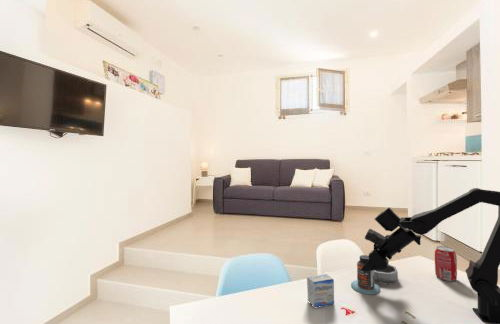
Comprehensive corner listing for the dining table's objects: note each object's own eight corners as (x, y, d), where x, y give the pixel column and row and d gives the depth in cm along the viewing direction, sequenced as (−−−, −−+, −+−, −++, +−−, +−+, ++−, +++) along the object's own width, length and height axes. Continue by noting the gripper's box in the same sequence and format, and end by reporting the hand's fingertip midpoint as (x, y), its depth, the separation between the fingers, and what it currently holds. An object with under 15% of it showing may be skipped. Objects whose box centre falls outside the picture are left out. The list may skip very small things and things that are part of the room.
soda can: (449, 274, 104) (448, 245, 104) (461, 282, 97) (461, 251, 97) (431, 274, 105) (430, 245, 105) (442, 282, 98) (441, 251, 98)
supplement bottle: (355, 287, 95) (354, 257, 95) (360, 281, 99) (359, 252, 99) (371, 292, 91) (371, 261, 91) (376, 285, 95) (375, 256, 95)
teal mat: (381, 296, 89) (381, 295, 89) (351, 291, 92) (351, 290, 92) (378, 283, 98) (378, 282, 98) (350, 279, 102) (350, 278, 102)
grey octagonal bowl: (399, 285, 96) (399, 275, 96) (368, 281, 100) (368, 271, 100) (394, 273, 106) (394, 264, 106) (366, 270, 110) (366, 261, 110)
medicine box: (313, 308, 82) (313, 282, 82) (307, 301, 87) (306, 276, 87) (334, 304, 84) (334, 279, 84) (327, 297, 89) (326, 273, 89)
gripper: (381, 218, 100) (353, 241, 106) (375, 229, 85) (342, 255, 91) (405, 240, 96) (374, 263, 102) (403, 256, 80) (366, 282, 86)
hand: (364, 265), depth 95 cm, fingers open, 9 cm apart
